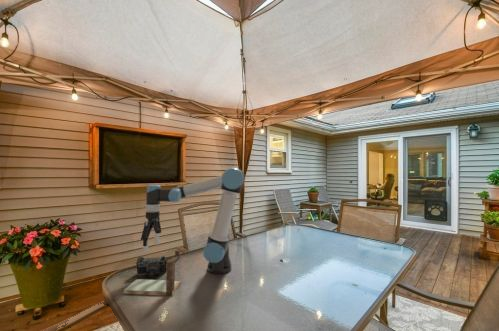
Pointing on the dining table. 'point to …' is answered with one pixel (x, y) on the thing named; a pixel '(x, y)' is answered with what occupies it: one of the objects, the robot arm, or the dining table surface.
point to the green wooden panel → (157, 282)
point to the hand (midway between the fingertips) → (151, 247)
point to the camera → (151, 266)
